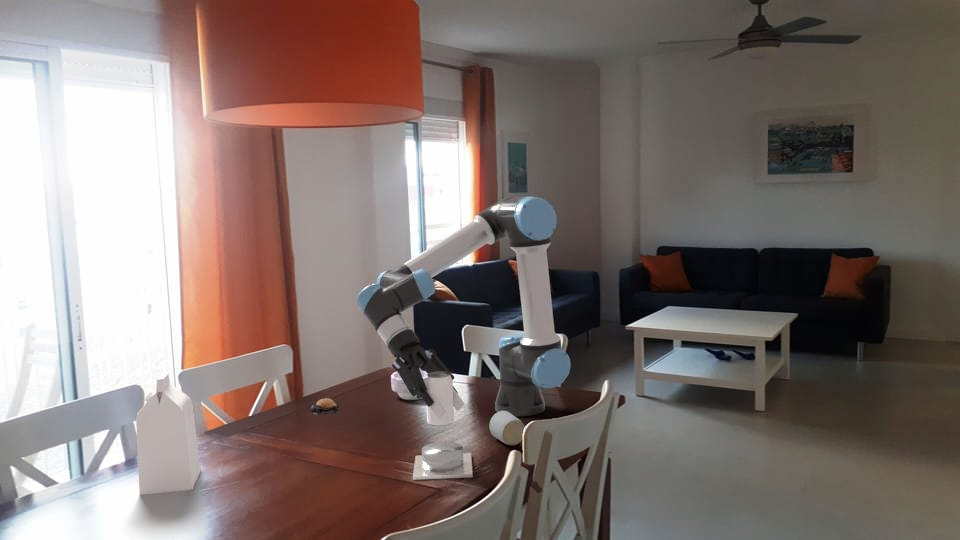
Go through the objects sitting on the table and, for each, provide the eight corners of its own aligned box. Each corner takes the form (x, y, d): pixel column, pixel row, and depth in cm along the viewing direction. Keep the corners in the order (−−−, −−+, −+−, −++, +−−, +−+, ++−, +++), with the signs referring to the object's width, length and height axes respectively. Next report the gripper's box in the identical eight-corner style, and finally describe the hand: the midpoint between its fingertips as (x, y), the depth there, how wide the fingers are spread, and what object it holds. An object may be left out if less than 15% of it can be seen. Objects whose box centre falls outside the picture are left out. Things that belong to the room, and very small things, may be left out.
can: (459, 421, 180) (457, 373, 179) (440, 428, 175) (438, 378, 174) (440, 417, 184) (438, 369, 183) (421, 423, 179) (419, 375, 178)
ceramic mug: (503, 449, 192) (503, 420, 191) (489, 440, 200) (488, 412, 199) (538, 442, 197) (538, 414, 196) (523, 434, 204) (522, 406, 203)
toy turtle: (310, 408, 238) (309, 396, 238) (336, 404, 241) (336, 393, 240) (312, 417, 228) (311, 405, 228) (340, 413, 230) (339, 402, 230)
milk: (192, 489, 173) (183, 380, 170) (139, 495, 171) (129, 384, 168) (200, 470, 185) (192, 368, 182) (151, 475, 182) (142, 372, 180)
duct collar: (471, 456, 188) (470, 437, 188) (472, 477, 174) (471, 457, 174) (415, 458, 188) (414, 440, 187) (412, 480, 174) (411, 460, 173)
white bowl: (382, 398, 244) (381, 375, 243) (413, 388, 256) (412, 365, 255) (416, 405, 235) (415, 381, 234) (447, 394, 247) (446, 370, 246)
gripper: (418, 340, 195) (468, 410, 187) (363, 354, 180) (416, 431, 171) (432, 321, 191) (484, 392, 183) (378, 334, 176) (432, 412, 168)
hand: (451, 411), depth 177 cm, fingers closed on can, 6 cm apart
